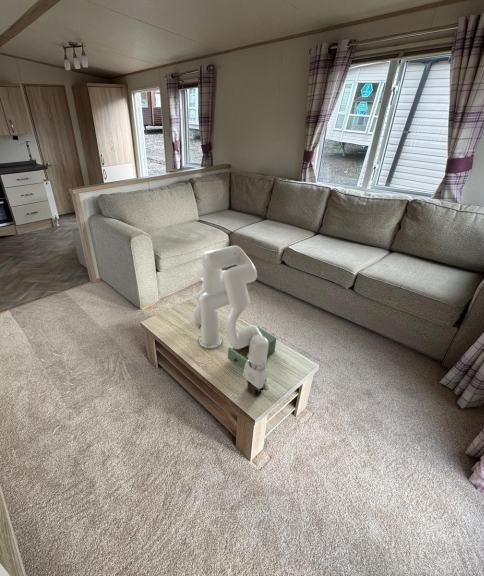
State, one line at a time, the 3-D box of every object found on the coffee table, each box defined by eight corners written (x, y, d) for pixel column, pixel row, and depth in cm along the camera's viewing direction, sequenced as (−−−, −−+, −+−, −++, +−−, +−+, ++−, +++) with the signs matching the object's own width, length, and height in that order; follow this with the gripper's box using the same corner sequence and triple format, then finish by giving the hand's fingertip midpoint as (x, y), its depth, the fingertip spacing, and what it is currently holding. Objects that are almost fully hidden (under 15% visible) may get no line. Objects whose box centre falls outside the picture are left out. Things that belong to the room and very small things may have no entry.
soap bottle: (209, 311, 189) (209, 270, 174) (222, 319, 182) (223, 277, 166) (189, 322, 181) (186, 280, 165) (201, 332, 173) (200, 288, 157)
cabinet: (257, 364, 150) (259, 350, 145) (239, 350, 159) (239, 337, 154) (274, 351, 157) (276, 338, 153) (256, 339, 166) (257, 326, 161)
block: (247, 390, 137) (248, 384, 134) (253, 386, 139) (254, 380, 137) (254, 396, 134) (255, 390, 132) (260, 391, 136) (261, 385, 134)
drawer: (242, 372, 145) (243, 361, 141) (226, 359, 152) (226, 349, 148) (261, 358, 152) (262, 348, 148) (244, 347, 160) (245, 336, 156)
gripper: (236, 355, 130) (234, 384, 140) (267, 378, 119) (263, 407, 129) (248, 347, 134) (245, 376, 144) (279, 368, 123) (274, 398, 133)
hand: (254, 390), depth 136 cm, fingers closed on block, 4 cm apart
